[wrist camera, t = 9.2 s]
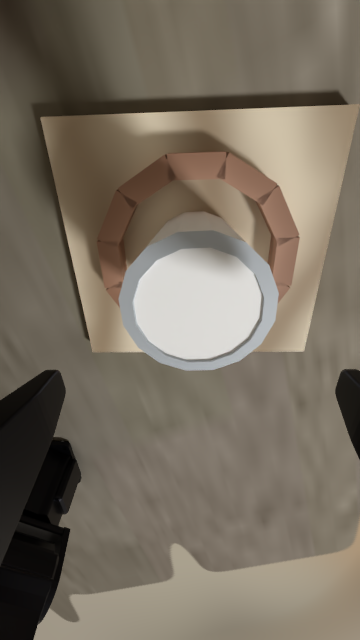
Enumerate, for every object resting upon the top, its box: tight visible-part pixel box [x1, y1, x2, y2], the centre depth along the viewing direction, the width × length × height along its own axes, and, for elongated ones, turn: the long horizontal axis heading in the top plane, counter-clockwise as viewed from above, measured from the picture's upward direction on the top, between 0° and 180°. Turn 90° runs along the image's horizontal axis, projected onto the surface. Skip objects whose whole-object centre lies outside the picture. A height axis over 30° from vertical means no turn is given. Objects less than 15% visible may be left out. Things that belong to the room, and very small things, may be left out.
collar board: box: [40, 104, 360, 352], centre depth 18 cm, size 16×15×2 cm
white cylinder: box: [119, 211, 279, 370], centre depth 16 cm, size 7×7×7 cm
